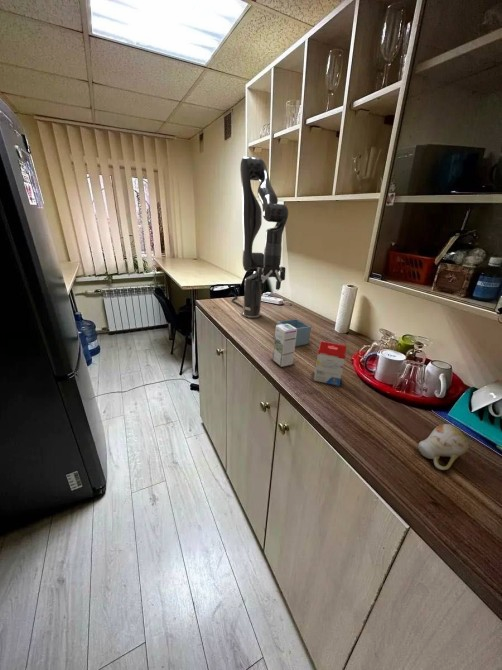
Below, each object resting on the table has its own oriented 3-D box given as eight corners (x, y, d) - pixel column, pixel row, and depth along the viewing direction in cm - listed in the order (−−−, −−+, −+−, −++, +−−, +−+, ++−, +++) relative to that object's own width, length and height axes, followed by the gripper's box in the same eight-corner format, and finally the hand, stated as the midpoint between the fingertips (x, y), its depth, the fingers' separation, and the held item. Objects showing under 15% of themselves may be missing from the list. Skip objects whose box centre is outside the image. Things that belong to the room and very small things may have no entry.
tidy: (275, 337, 123) (277, 321, 120) (294, 334, 128) (296, 318, 125) (288, 347, 114) (291, 330, 111) (308, 343, 119) (311, 326, 116)
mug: (405, 447, 66) (425, 411, 66) (432, 459, 69) (451, 425, 69) (431, 466, 59) (453, 426, 59) (461, 479, 62) (482, 441, 61)
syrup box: (293, 364, 101) (298, 328, 96) (280, 367, 99) (284, 330, 93) (284, 357, 106) (288, 322, 100) (271, 360, 103) (275, 324, 97)
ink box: (339, 379, 94) (348, 340, 88) (339, 386, 89) (348, 346, 84) (314, 373, 96) (321, 335, 90) (312, 380, 92) (319, 341, 86)
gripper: (281, 252, 126) (278, 287, 132) (254, 252, 120) (252, 289, 126) (290, 254, 120) (287, 291, 126) (263, 254, 114) (260, 293, 120)
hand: (269, 290), depth 126 cm, fingers open, 8 cm apart
